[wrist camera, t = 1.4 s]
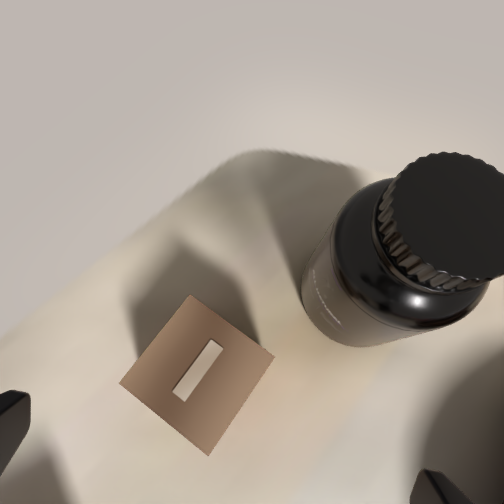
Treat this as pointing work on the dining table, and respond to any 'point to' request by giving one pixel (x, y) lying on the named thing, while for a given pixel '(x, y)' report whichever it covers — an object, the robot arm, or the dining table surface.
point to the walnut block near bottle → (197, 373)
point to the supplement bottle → (408, 252)
